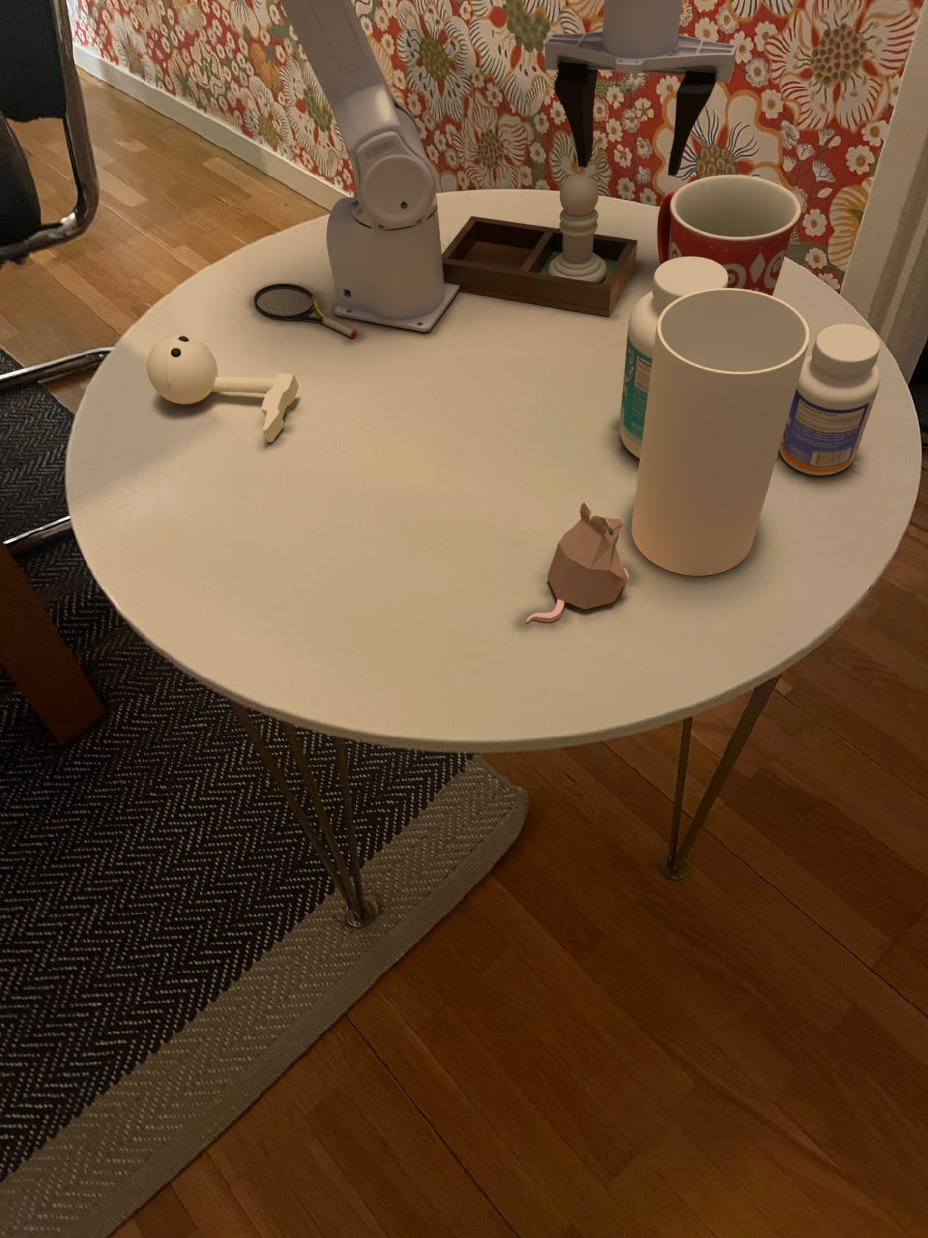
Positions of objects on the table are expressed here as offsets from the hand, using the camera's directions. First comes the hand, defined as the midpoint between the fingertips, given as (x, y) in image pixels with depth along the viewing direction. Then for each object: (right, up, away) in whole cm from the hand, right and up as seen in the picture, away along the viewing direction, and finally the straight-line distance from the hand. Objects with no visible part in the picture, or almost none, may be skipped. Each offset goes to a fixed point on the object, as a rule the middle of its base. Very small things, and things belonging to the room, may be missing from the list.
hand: (629, 165), depth 75 cm
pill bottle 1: (+2, -25, -8) cm, 26 cm away
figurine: (-40, -19, -3) cm, 44 cm away
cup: (+2, -33, -14) cm, 35 cm away
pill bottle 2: (+12, -26, -10) cm, 30 cm away
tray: (-7, -7, +7) cm, 12 cm away
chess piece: (-4, -7, +6) cm, 10 cm away
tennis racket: (-30, -12, +4) cm, 33 cm away
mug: (+5, -17, -1) cm, 17 cm away
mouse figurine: (-7, -37, -16) cm, 41 cm away
